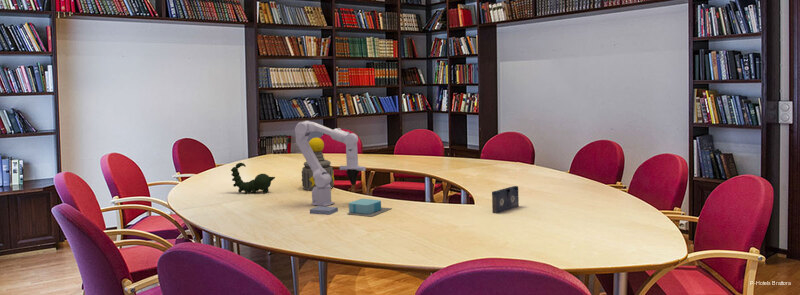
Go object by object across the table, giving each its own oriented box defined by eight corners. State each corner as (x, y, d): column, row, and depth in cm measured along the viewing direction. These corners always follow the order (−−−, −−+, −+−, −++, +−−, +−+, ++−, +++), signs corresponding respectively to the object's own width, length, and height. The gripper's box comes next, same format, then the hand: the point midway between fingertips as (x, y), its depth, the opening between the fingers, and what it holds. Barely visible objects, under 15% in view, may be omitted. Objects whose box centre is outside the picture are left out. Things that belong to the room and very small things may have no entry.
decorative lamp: (297, 191, 361) (295, 139, 357) (308, 185, 379) (305, 136, 376) (329, 191, 358) (326, 138, 354) (338, 185, 376) (335, 135, 373)
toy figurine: (232, 197, 358) (274, 193, 354) (227, 165, 356) (269, 160, 352) (238, 194, 367) (279, 190, 364) (233, 162, 365) (275, 157, 362)
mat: (347, 214, 296) (347, 213, 296) (367, 206, 311) (367, 206, 311) (372, 216, 289) (372, 216, 289) (391, 208, 304) (391, 208, 304)
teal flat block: (347, 212, 299) (367, 214, 292) (347, 202, 298) (367, 205, 292) (362, 207, 309) (382, 209, 302) (362, 198, 308) (382, 200, 302)
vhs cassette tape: (514, 206, 301) (514, 185, 300) (519, 206, 299) (519, 186, 298) (491, 212, 288) (490, 191, 287) (496, 213, 286) (496, 192, 285)
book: (309, 214, 301) (309, 209, 301) (318, 210, 308) (318, 206, 308) (329, 215, 297) (329, 210, 296) (338, 212, 304) (337, 207, 304)
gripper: (368, 157, 315) (369, 183, 316) (344, 156, 322) (346, 182, 323) (360, 159, 309) (361, 186, 310) (336, 158, 316) (338, 184, 317)
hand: (353, 184), depth 316 cm, fingers closed
